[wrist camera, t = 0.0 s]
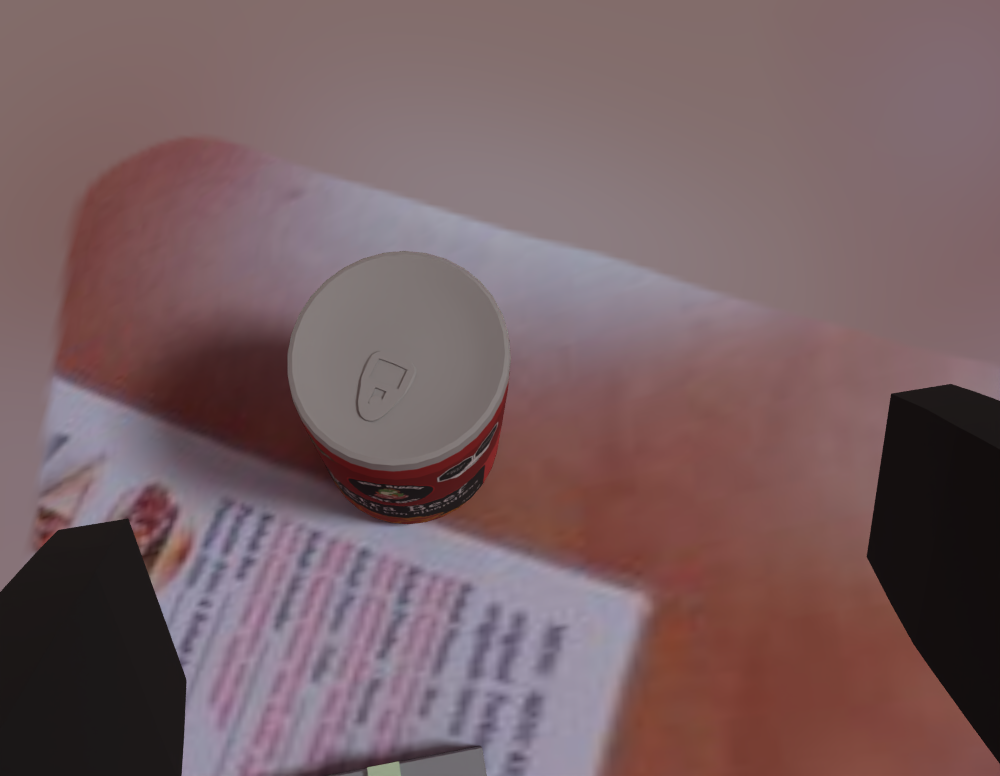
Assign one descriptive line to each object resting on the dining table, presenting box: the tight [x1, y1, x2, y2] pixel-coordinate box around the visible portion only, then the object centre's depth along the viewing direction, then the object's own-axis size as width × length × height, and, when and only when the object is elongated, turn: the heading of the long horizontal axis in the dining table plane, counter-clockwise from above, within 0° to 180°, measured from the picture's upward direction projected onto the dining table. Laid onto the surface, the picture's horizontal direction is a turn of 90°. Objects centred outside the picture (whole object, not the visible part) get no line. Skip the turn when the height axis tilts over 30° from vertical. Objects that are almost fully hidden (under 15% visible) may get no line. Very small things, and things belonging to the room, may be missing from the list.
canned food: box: [288, 251, 511, 524], centre depth 38 cm, size 8×8×11 cm
